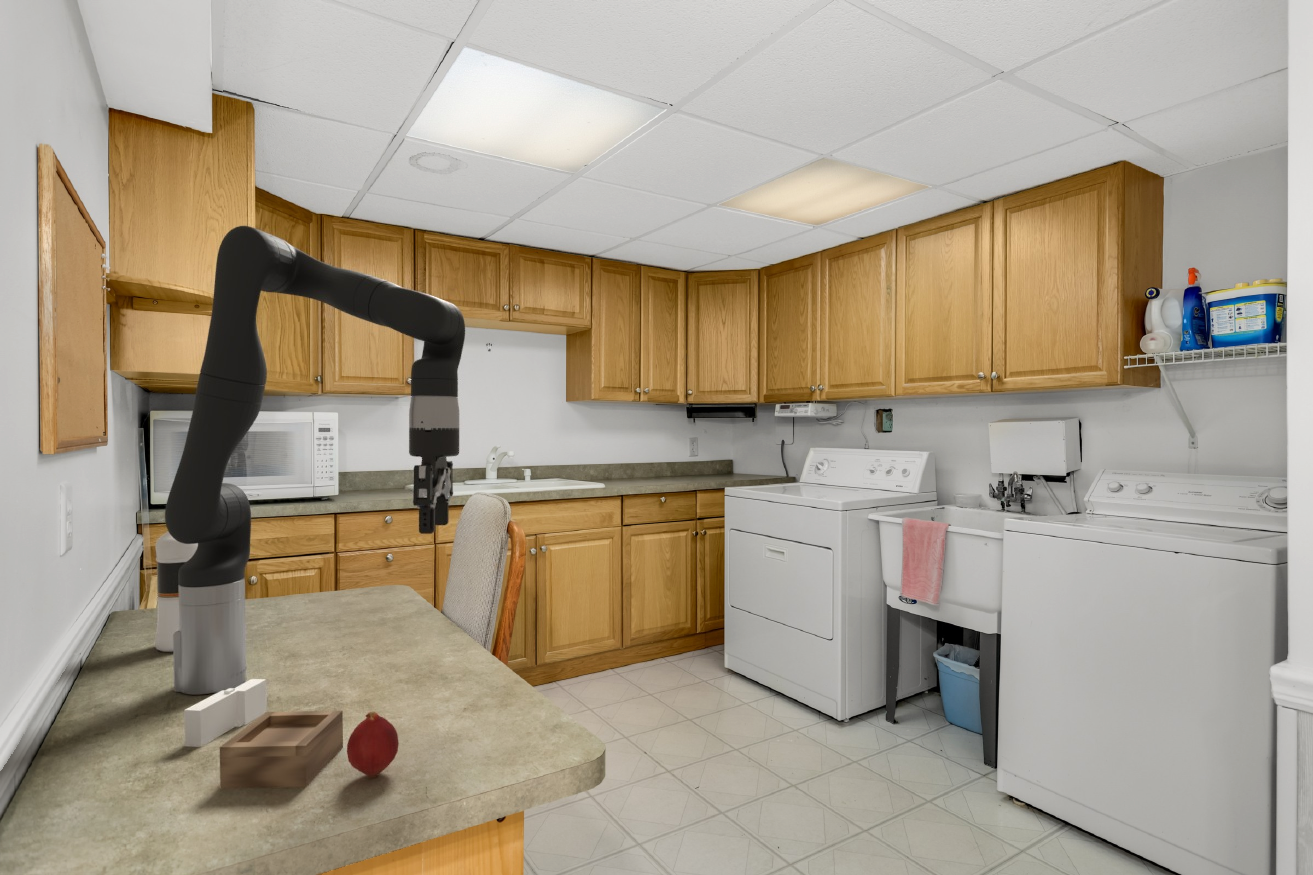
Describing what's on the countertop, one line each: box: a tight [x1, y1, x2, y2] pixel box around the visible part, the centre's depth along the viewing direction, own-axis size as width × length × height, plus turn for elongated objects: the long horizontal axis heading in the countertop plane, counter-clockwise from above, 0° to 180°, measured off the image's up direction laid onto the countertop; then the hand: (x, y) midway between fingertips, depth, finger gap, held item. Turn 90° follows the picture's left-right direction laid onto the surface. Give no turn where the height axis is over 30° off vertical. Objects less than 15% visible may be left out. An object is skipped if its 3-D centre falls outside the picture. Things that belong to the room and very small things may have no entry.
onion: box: [346, 710, 400, 778], centre depth 83 cm, size 6×6×8 cm
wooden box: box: [219, 710, 344, 790], centre depth 86 cm, size 10×10×5 cm
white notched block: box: [183, 678, 268, 748], centre depth 98 cm, size 15×11×6 cm
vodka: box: [154, 530, 198, 653], centre depth 135 cm, size 9×9×30 cm
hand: (434, 529), depth 108 cm, fingers open, 8 cm apart
